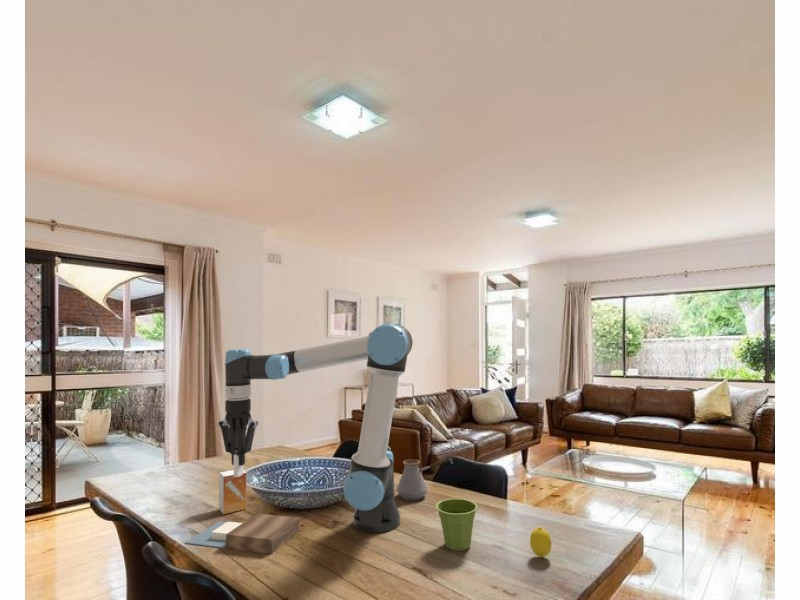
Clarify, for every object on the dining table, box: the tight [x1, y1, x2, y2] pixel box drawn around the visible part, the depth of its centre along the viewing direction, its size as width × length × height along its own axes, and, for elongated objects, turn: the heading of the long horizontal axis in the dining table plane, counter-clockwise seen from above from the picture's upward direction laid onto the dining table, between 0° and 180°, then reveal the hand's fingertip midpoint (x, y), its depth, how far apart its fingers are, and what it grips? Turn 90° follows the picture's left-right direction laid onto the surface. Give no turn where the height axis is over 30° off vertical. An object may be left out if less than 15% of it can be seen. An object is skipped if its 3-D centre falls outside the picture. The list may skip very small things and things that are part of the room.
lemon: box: [529, 526, 552, 559], centre depth 129 cm, size 6×6×8 cm
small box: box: [218, 469, 247, 515], centre depth 169 cm, size 8×6×13 cm
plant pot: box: [435, 498, 478, 552], centre depth 137 cm, size 12×12×11 cm
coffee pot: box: [396, 457, 454, 501], centre depth 177 cm, size 21×12×15 cm, turn 73°
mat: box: [184, 521, 227, 549], centre depth 148 cm, size 14×16×1 cm
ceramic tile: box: [211, 521, 243, 540], centre depth 147 cm, size 8×8×2 cm
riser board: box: [225, 513, 300, 555], centre depth 144 cm, size 15×16×4 cm
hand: (238, 475), depth 148 cm, fingers closed
